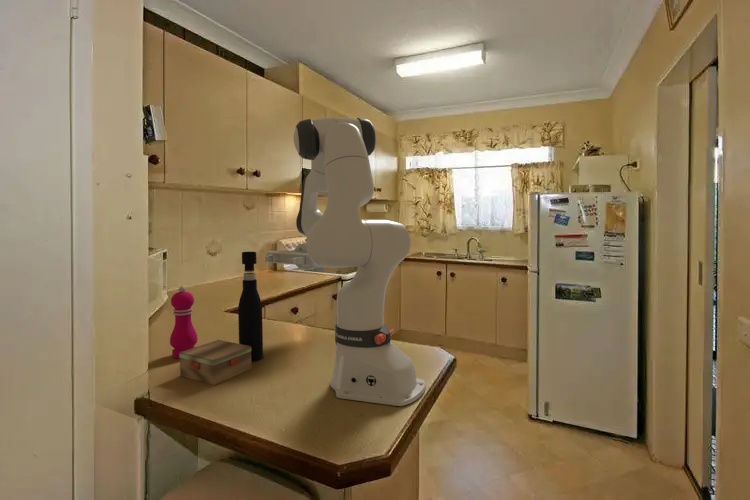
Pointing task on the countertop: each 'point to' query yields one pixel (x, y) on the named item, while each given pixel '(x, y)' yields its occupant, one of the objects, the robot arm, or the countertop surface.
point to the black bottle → (250, 310)
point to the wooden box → (215, 361)
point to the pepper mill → (182, 323)
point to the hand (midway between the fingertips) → (278, 260)
